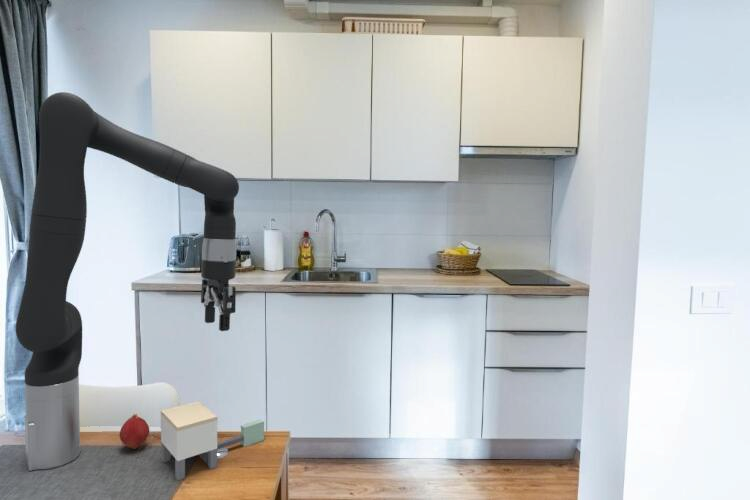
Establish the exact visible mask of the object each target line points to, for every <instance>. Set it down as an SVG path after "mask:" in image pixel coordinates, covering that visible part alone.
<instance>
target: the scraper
mask: <svg viewBox="0 0 750 500" xmlns="http://www.w3.org/2000/svg"><path fill="white" fill-rule="evenodd" d="M262 441H265V421H264V420H263V419H256V420H253V421H251V422H246V423H244V424H240V435H236V436H232V437H230V438H227V439H224V440H221V441H217V450H218V449H221V448H224V447H225V448H227V447H229V446H232V445H235V444H239V443H240V445H241V446H242V447H243V448H245V447H248V446H250V445H254V444H257V443H259V442H262ZM197 456H198V457H200V458H201V460H203V462H204V463H205V464H207V465H208V452H205V453H201V454H198V455H197Z"/></svg>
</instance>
